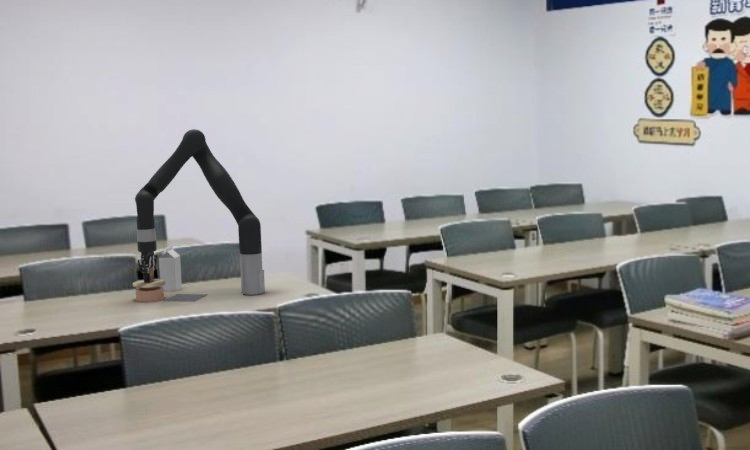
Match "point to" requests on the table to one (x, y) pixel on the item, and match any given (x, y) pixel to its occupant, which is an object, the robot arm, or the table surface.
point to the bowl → (149, 294)
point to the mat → (186, 297)
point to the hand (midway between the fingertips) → (149, 281)
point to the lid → (150, 284)
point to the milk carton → (170, 270)
